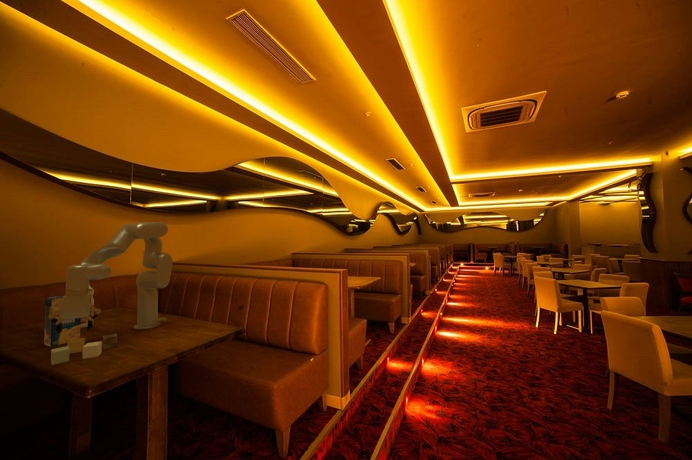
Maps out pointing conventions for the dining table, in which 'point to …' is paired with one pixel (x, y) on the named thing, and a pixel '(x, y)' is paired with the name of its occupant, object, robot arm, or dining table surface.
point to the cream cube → (92, 349)
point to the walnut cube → (110, 341)
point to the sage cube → (59, 355)
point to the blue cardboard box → (50, 335)
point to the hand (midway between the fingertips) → (74, 331)
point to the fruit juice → (84, 320)
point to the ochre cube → (76, 345)
